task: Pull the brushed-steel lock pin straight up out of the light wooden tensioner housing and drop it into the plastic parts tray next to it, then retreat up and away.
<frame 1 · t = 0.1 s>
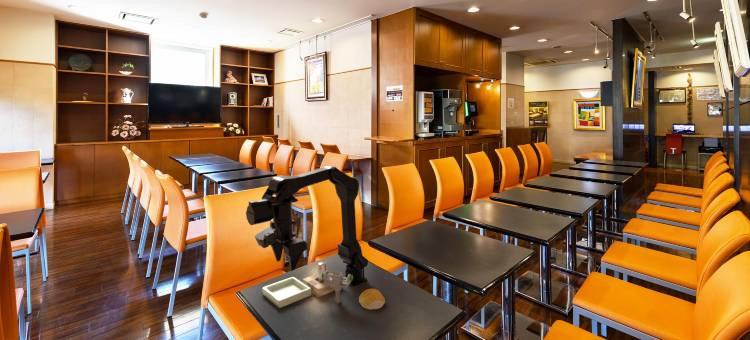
hand: (285, 265, 112), 15 cm above the table, fingers open, 9 cm apart
lock pin: (322, 275, 127), in the tensioner housing
parts tray: (286, 294, 123), on the table
tensioner housing: (322, 287, 128), on the table
bread roll: (372, 303, 118), on the table
mechanical component: (338, 302, 118), on the table
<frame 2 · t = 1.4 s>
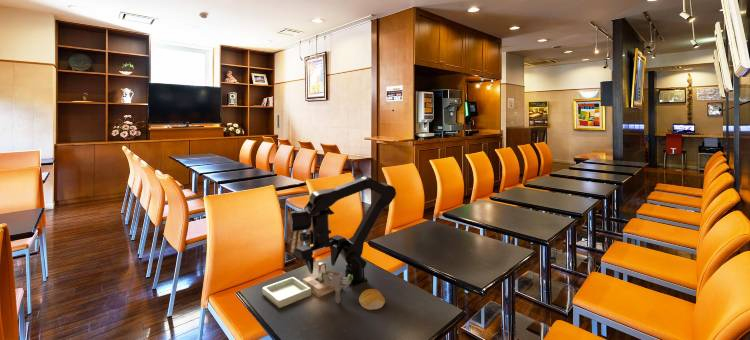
hand: (322, 269, 127), 7 cm above the table, fingers open, 9 cm apart
nothing on the table moved.
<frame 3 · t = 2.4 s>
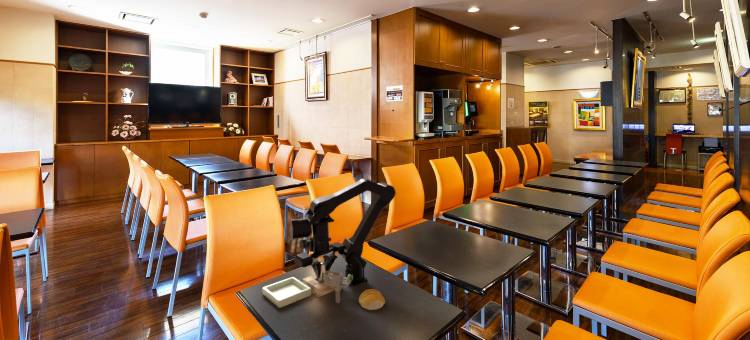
hand: (322, 276, 128), 4 cm above the table, fingers closed on lock pin, 3 cm apart
lock pin: (322, 275, 127), in the tensioner housing, touching gripper
everything else where it was.
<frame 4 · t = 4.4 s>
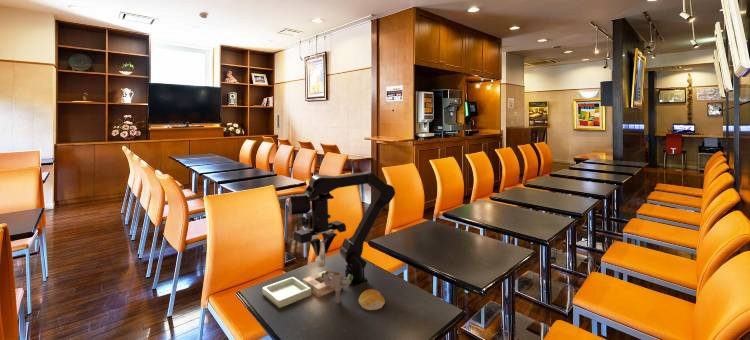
hand: (321, 254, 126), 12 cm above the table, fingers closed on lock pin, 3 cm apart
lock pin: (321, 253, 126), point 13 cm above the table, touching gripper
everything else where it was.
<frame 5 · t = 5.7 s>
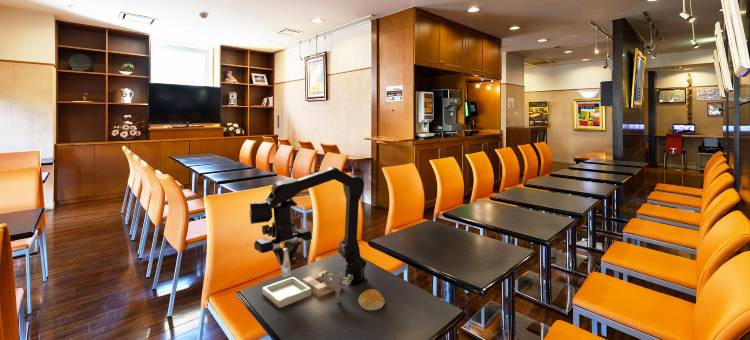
hand: (285, 263, 121), 11 cm above the table, fingers closed on lock pin, 3 cm apart
lock pin: (285, 262, 121), point 12 cm above the table, touching gripper
everything else where it was.
when the fingers open (6 cm above the table, at t = 6.7 s): lock pin drops 2 cm, resting on parts tray.
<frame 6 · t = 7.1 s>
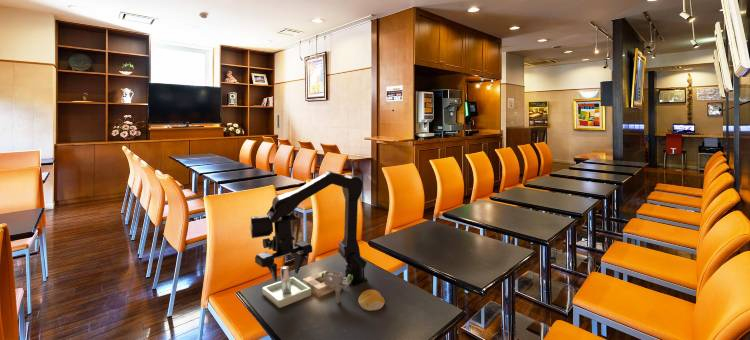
hand: (286, 277, 122), 6 cm above the table, fingers open, 8 cm apart
lock pin: (285, 280, 122), in the parts tray, point 5 cm above the table
everything else where it was.
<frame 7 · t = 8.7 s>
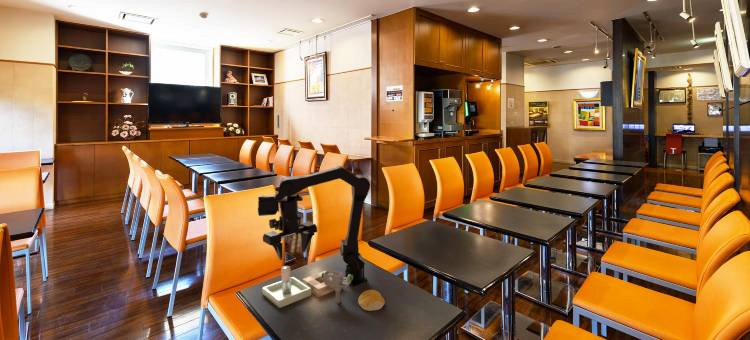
hand: (292, 255, 127), 12 cm above the table, fingers open, 9 cm apart
nothing on the table moved.
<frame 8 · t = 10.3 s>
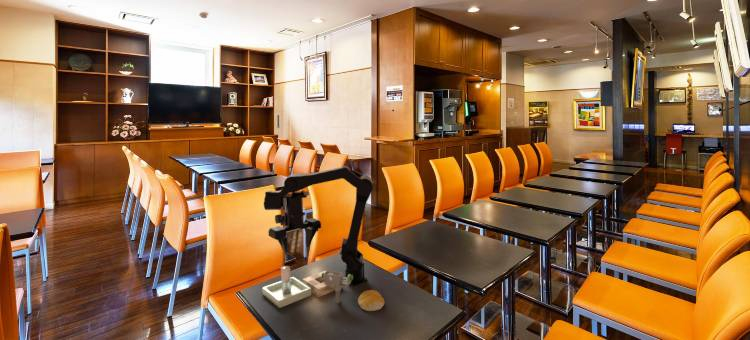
hand: (296, 250, 131), 12 cm above the table, fingers open, 9 cm apart
nothing on the table moved.
at the end: lock pin inside the target area on the parts tray (0.0 cm from its centre), point 5.3 cm above the parts tray's base; lock pin moved 12.7 cm from its start; the gripper is holding nothing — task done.
